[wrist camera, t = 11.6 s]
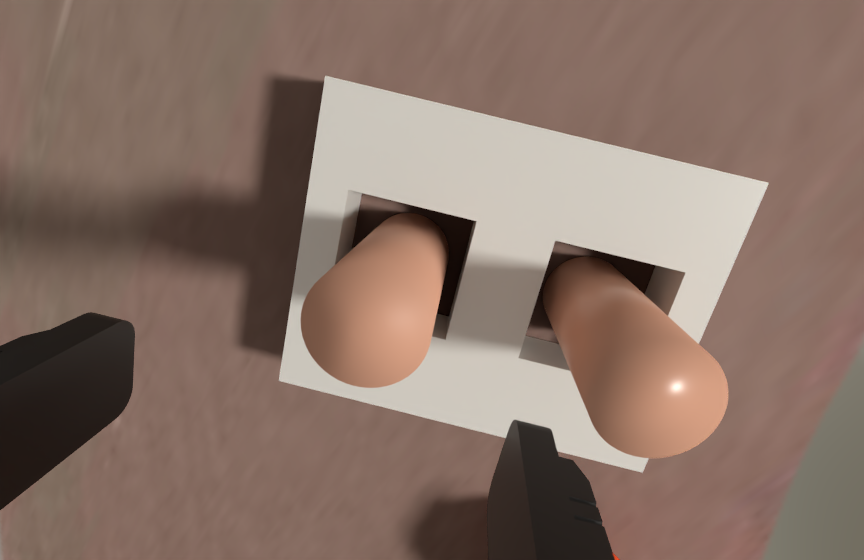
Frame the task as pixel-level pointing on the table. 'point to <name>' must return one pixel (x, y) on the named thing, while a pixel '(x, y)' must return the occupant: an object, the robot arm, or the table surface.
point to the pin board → (536, 273)
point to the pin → (378, 304)
